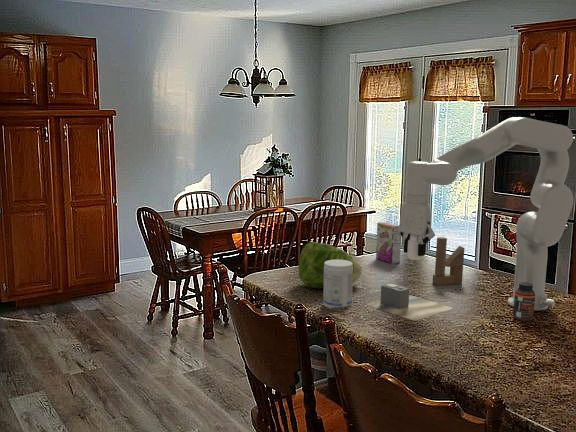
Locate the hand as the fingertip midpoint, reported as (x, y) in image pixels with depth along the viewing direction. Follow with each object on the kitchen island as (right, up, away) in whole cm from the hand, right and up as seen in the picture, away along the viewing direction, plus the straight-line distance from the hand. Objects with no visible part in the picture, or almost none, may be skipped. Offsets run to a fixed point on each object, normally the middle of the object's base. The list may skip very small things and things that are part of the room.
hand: (414, 253), depth 193 cm
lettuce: (-26, -14, +21) cm, 37 cm away
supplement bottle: (+32, -20, -11) cm, 39 cm away
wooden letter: (+18, -14, +27) cm, 35 cm away
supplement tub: (-26, -17, -1) cm, 31 cm away
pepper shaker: (0, -2, 0) cm, 2 cm away
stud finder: (-7, -17, -3) cm, 18 cm away
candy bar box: (+2, -8, +62) cm, 63 cm away
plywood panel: (-2, -18, -4) cm, 19 cm away
